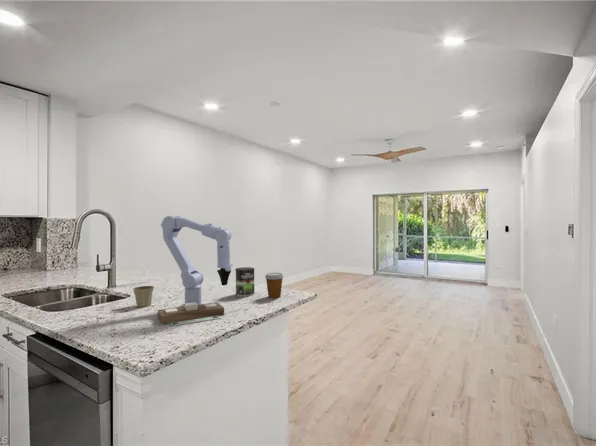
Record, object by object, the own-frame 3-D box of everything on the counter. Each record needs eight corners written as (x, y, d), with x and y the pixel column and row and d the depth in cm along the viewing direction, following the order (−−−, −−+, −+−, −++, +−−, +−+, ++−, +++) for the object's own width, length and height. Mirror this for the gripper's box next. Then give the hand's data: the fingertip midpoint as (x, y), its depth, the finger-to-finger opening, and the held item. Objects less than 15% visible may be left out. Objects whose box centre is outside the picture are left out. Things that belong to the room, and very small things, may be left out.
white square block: (203, 312, 145) (203, 304, 145) (213, 310, 147) (213, 303, 147) (206, 314, 141) (206, 306, 141) (216, 312, 143) (216, 305, 143)
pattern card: (169, 323, 130) (169, 322, 130) (217, 316, 139) (217, 315, 139) (171, 326, 126) (171, 325, 126) (220, 318, 136) (220, 317, 136)
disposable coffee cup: (283, 298, 169) (282, 275, 169) (264, 299, 169) (264, 275, 169) (284, 294, 178) (283, 272, 178) (266, 294, 178) (266, 272, 178)
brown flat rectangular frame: (157, 317, 139) (157, 310, 139) (217, 308, 151) (216, 302, 151) (161, 324, 129) (161, 316, 129) (224, 314, 141) (224, 307, 141)
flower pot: (128, 307, 156) (128, 288, 156) (144, 302, 165) (144, 285, 165) (143, 309, 152) (143, 290, 152) (158, 304, 161) (158, 286, 161)
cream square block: (164, 317, 137) (164, 309, 137) (176, 316, 139) (175, 308, 139) (166, 320, 133) (166, 312, 133) (177, 318, 135) (177, 310, 135)
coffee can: (257, 295, 178) (257, 268, 178) (238, 297, 173) (238, 270, 173) (251, 291, 187) (250, 266, 187) (233, 293, 183) (232, 268, 182)
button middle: (184, 311, 141) (184, 303, 141) (195, 309, 143) (195, 302, 143) (186, 313, 137) (186, 305, 137) (197, 312, 139) (197, 304, 139)
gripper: (237, 256, 149) (237, 286, 149) (227, 253, 161) (228, 281, 161) (221, 257, 145) (222, 288, 145) (212, 254, 158) (213, 283, 158)
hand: (224, 285), depth 153 cm, fingers closed
